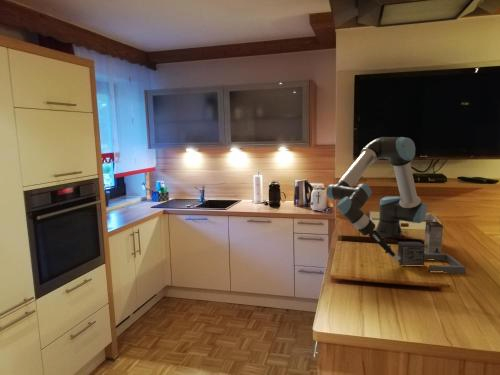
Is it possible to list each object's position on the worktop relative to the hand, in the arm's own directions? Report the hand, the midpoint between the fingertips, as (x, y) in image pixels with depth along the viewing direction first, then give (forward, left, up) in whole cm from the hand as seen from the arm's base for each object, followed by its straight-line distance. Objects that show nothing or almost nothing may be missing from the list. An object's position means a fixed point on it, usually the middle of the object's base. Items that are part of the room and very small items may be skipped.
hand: (398, 259), depth 178 cm
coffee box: (-19, +23, -3) cm, 30 cm away
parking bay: (-1, +19, -3) cm, 20 cm away
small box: (-2, +6, -3) cm, 7 cm away
